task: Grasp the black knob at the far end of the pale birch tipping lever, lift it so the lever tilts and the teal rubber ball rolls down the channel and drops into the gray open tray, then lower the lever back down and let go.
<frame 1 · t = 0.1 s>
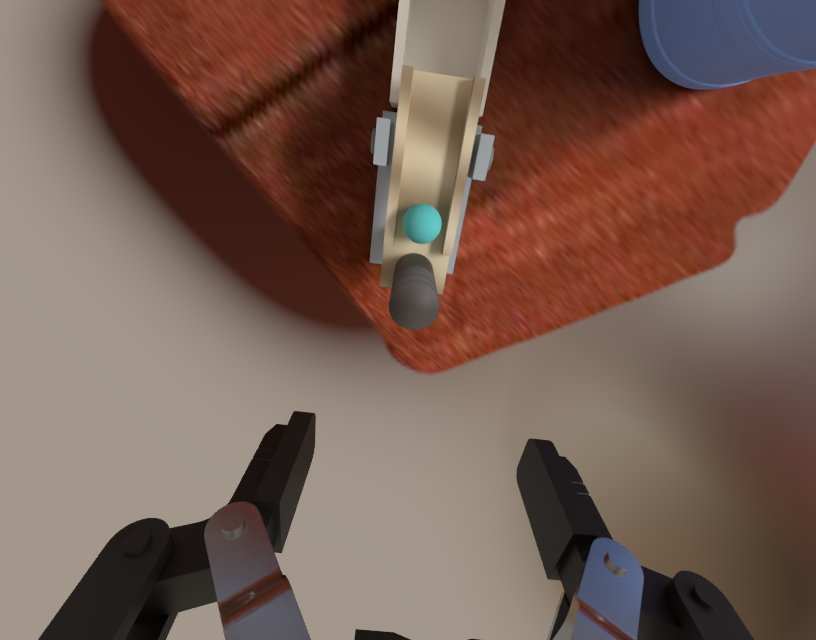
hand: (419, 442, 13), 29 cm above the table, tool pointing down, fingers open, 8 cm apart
stand: (428, 150, 35), on the table
lever: (426, 201, 26), point 11 cm above the table, hinge at 0.0°, touching ball
gray open tray: (442, 51, 31), on the table
ball: (422, 224, 28), point 10 cm above the table, touching lever
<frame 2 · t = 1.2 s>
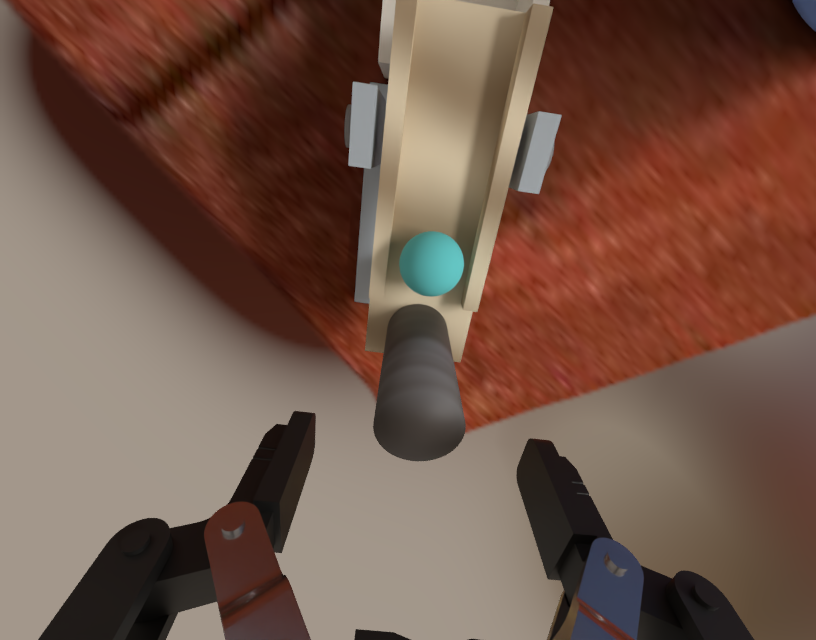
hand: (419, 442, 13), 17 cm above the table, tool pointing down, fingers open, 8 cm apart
stand: (438, 143, 23), on the table
lever: (441, 232, 15), point 11 cm above the table, hinge at 0.0°, touching ball
ball: (431, 264, 17), point 10 cm above the table, touching lever
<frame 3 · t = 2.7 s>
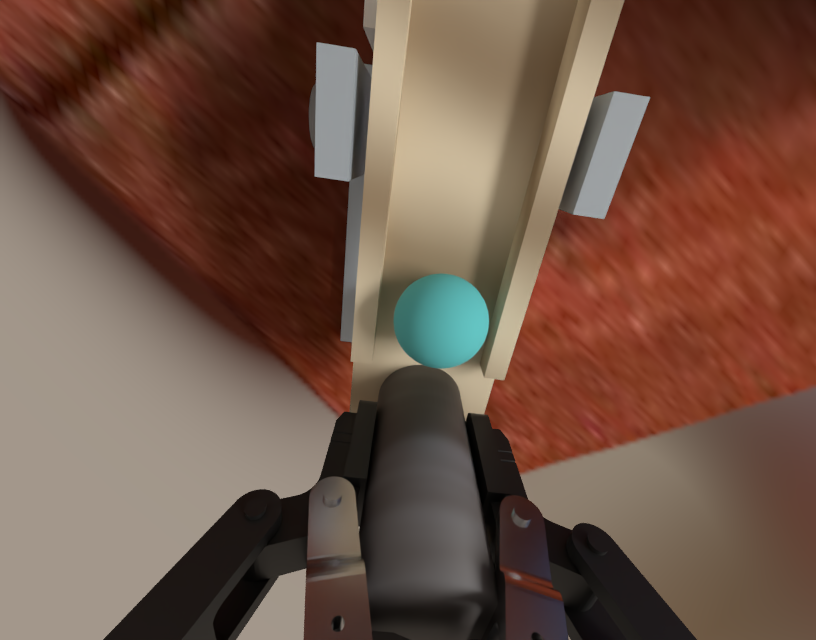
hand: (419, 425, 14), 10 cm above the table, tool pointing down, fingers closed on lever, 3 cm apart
stand: (445, 145, 18), on the table
lever: (458, 283, 9), point 11 cm above the table, hinge at 0.0°, touching ball, gripper
ball: (440, 321, 12), point 10 cm above the table, touching lever
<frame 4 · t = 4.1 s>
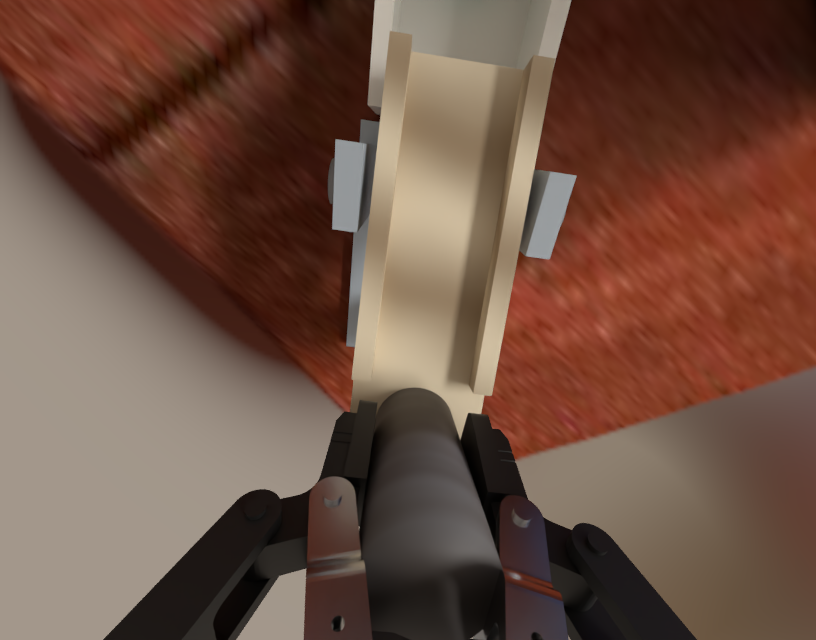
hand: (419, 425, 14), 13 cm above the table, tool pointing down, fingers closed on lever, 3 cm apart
stand: (435, 183, 21), on the table
lever: (446, 287, 11), point 12 cm above the table, hinge at 15.8°, touching gripper
gray open tray: (462, 18, 18), on the table
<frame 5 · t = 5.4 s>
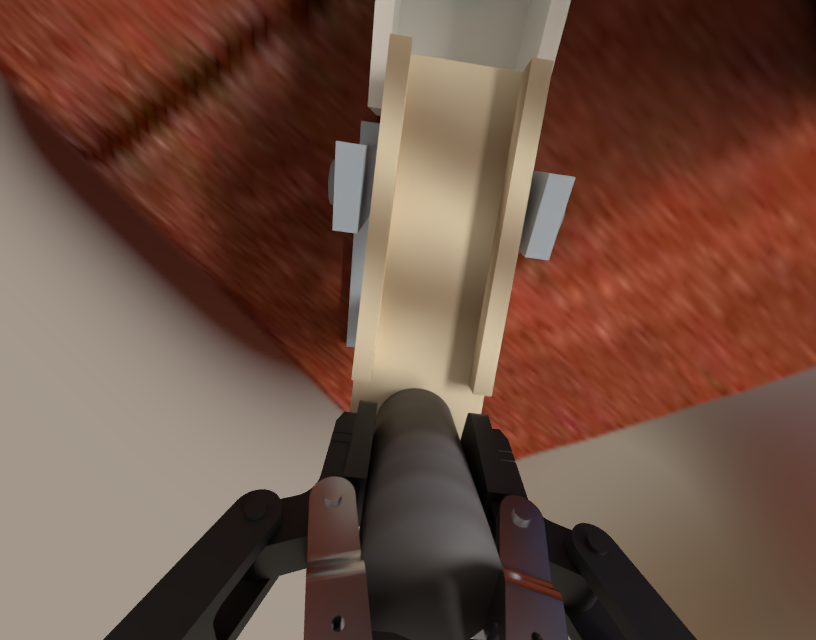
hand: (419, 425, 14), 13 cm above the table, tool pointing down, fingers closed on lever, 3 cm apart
stand: (435, 184, 21), on the table
lever: (445, 287, 11), point 12 cm above the table, hinge at 16.2°, touching gripper
gray open tray: (461, 19, 18), on the table
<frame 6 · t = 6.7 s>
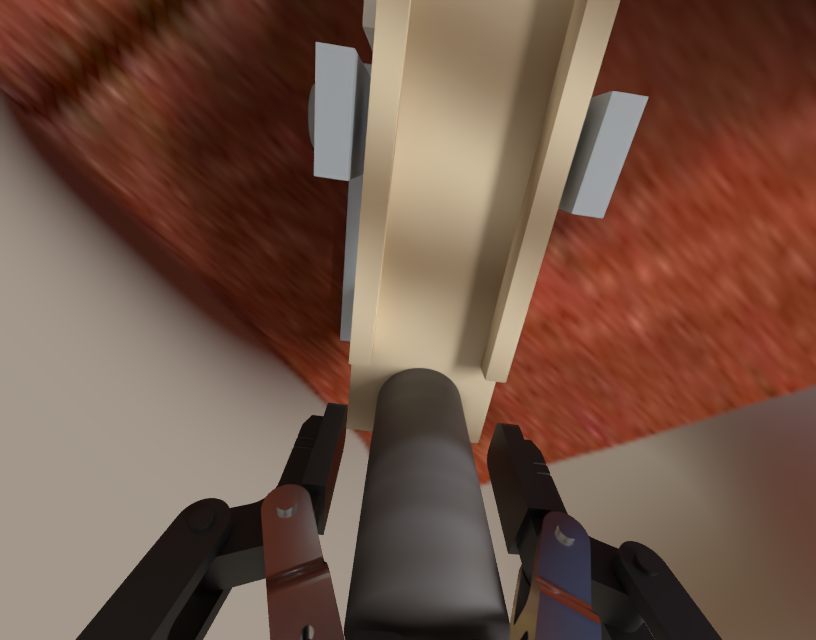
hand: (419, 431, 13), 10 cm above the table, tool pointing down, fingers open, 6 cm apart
stand: (445, 144, 18), on the table
lever: (459, 278, 9), point 12 cm above the table, hinge at 2.3°
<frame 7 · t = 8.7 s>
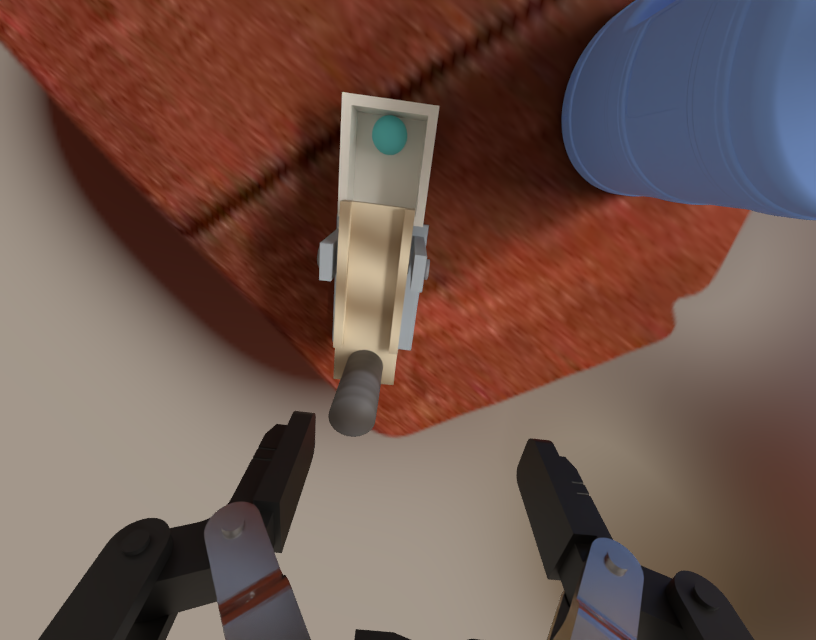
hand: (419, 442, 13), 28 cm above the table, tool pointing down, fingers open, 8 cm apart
stand: (381, 245, 37), on the table
lever: (365, 315, 28), point 12 cm above the table, hinge at 2.3°
gray open tray: (388, 164, 34), on the table
water jug: (641, 105, 32), on the table
ball: (389, 135, 31), point 2 cm above the table, tilted 104°, touching gray open tray
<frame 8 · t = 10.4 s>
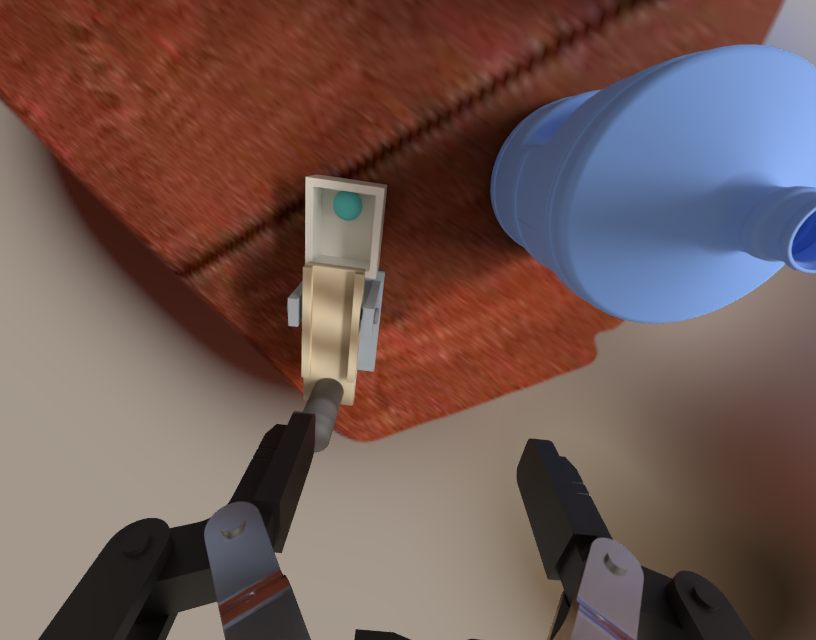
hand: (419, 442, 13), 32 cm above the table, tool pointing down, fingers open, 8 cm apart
stand: (345, 286, 44), on the table
lever: (324, 356, 35), point 12 cm above the table, hinge at 2.3°
gray open tray: (349, 223, 41), on the table
water jug: (557, 180, 39), on the table
ball: (347, 205, 38), point 2 cm above the table, tilted 106°, touching gray open tray
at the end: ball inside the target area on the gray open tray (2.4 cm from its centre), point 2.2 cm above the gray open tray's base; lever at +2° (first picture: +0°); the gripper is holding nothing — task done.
